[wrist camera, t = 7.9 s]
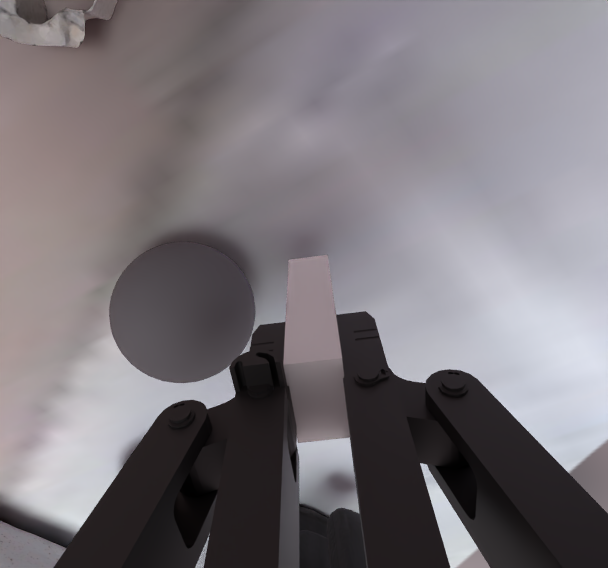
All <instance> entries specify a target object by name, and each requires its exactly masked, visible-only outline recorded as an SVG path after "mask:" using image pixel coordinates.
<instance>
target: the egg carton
mask: <svg viewBox="0 0 608 568" xmlns="http://www.w3.org/2000/svg"><path fill="white" fill-rule="evenodd" d="M116 3H117V0H95V1H94V3H93V6H92V7H91V8H90V9H89V10H88V11H85V10H72V9H68V8H65V9H63V10H62V11H60V12H58V13H57V14H56V15H55V16H54V17H52V18H51V19H50V20H48V21H47V10H46V7H45V3H44V0H0V36H3V37H5V38H8V39H10V40H12V41H15V42H17V43H22V44H28V45H35V46H66V47H74V48H78V46H79V45H80V44H81V43H82V42H83V39H84V36H85V21H86V20H88V19H93V18H99V19H104V20H109V19H110V18H111V17H112V14H113V12H114V8H115V5H116Z"/></svg>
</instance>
